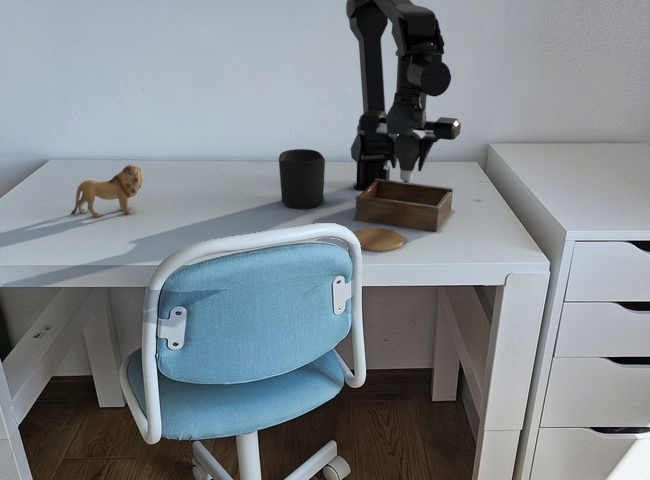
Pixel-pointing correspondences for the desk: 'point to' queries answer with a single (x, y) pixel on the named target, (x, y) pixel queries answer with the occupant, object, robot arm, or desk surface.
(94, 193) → the lion figurine
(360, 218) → the wooden cubby shelf
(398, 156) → the light bulb
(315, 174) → the pen holder
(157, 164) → the desk surface
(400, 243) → the coaster
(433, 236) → the desk surface
